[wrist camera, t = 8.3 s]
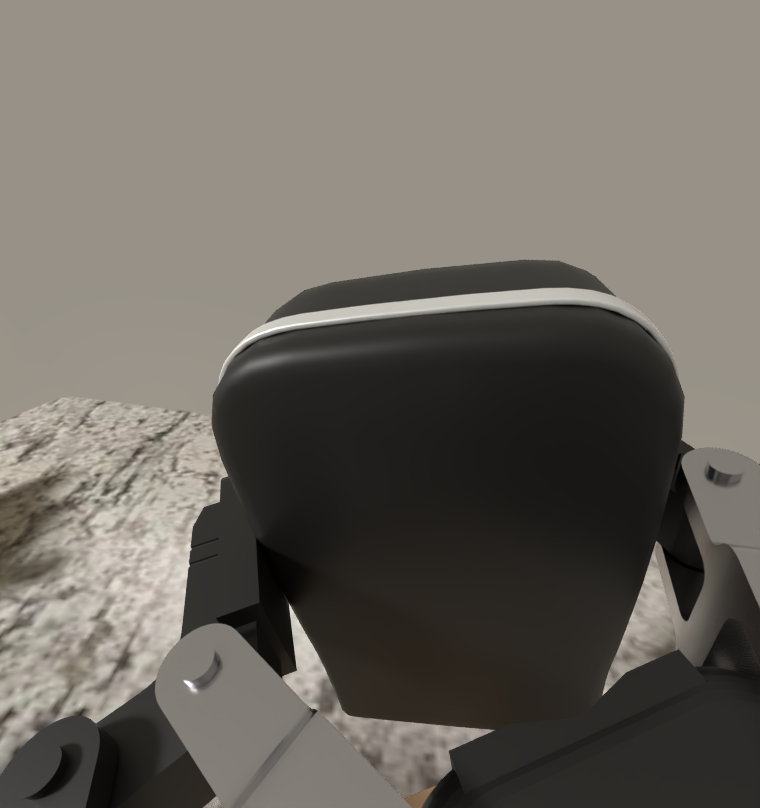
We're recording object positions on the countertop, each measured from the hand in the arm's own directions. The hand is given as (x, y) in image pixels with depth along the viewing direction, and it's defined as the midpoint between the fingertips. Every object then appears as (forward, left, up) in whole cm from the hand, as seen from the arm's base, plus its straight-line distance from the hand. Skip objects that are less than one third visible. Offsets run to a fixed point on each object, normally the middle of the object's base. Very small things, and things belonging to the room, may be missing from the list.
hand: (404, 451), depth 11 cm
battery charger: (0, -2, -7) cm, 7 cm away
